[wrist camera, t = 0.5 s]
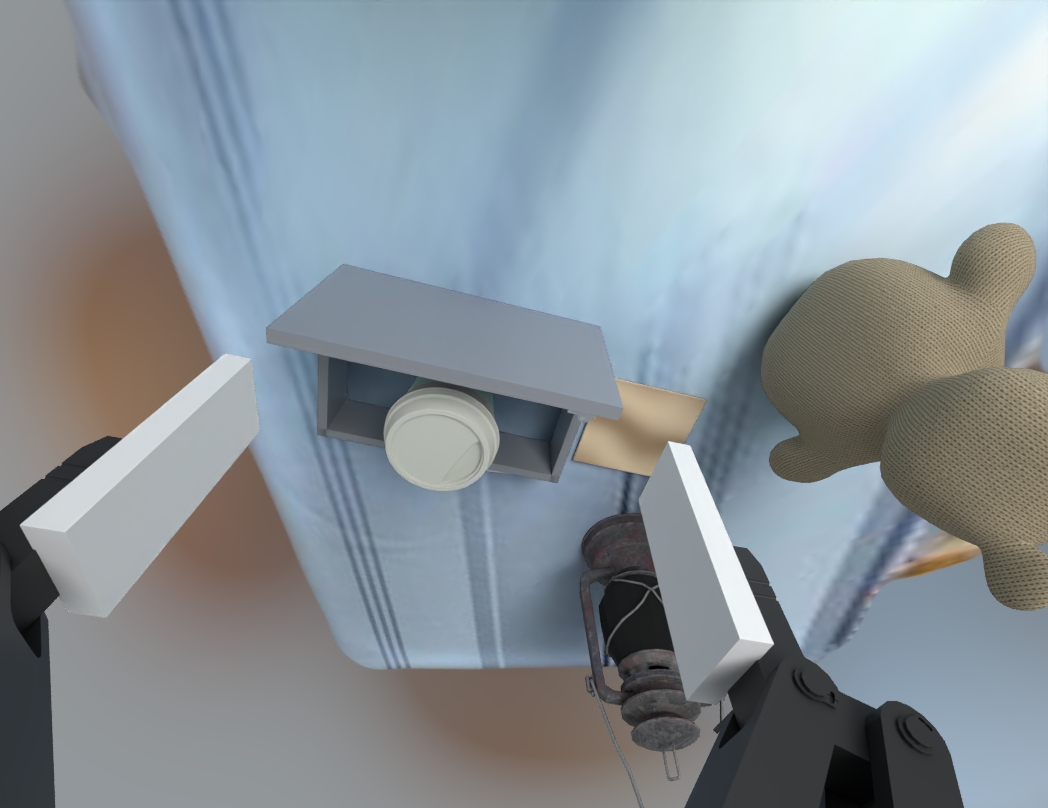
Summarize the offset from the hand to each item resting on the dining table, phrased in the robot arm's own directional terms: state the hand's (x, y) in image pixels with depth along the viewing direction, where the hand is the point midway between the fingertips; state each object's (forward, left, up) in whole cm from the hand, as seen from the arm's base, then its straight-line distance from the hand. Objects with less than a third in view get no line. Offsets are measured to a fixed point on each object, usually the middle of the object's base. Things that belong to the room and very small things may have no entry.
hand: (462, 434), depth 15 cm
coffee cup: (+13, -1, -26) cm, 29 cm away
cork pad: (+15, +17, -26) cm, 34 cm away
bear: (+1, +30, -26) cm, 40 cm away
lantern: (+31, +22, -26) cm, 46 cm away
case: (+13, -1, -26) cm, 29 cm away
